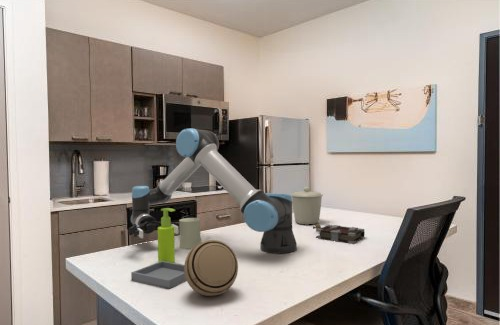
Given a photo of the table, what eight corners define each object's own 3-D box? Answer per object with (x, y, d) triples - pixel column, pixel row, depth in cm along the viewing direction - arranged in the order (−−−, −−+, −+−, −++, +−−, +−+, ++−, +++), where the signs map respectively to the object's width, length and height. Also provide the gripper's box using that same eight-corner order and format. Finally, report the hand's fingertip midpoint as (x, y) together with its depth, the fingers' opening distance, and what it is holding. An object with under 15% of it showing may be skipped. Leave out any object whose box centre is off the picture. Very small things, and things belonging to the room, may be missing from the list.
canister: (326, 226, 189) (325, 187, 188) (292, 226, 189) (292, 188, 189) (319, 220, 207) (319, 185, 206) (289, 220, 207) (289, 185, 207)
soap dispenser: (168, 266, 122) (167, 210, 122) (154, 263, 126) (153, 208, 125) (180, 262, 127) (179, 208, 127) (166, 259, 131) (165, 206, 130)
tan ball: (174, 300, 93) (173, 245, 93) (201, 281, 107) (200, 233, 107) (224, 308, 88) (223, 249, 87) (246, 287, 102) (245, 236, 101)
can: (196, 249, 145) (196, 220, 145) (176, 248, 147) (175, 220, 146) (204, 243, 154) (203, 216, 154) (184, 243, 156) (184, 216, 156)
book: (353, 245, 150) (353, 233, 150) (302, 237, 165) (302, 226, 165) (365, 238, 161) (365, 227, 161) (316, 231, 177) (316, 222, 177)
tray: (197, 274, 113) (197, 267, 113) (169, 289, 101) (169, 280, 101) (162, 267, 121) (161, 260, 121) (131, 280, 109) (131, 272, 109)
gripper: (174, 228, 157) (191, 237, 139) (116, 235, 144) (126, 246, 126) (174, 212, 157) (191, 219, 139) (115, 217, 144) (126, 226, 126)
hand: (160, 232), depth 132 cm, fingers open, 13 cm apart
